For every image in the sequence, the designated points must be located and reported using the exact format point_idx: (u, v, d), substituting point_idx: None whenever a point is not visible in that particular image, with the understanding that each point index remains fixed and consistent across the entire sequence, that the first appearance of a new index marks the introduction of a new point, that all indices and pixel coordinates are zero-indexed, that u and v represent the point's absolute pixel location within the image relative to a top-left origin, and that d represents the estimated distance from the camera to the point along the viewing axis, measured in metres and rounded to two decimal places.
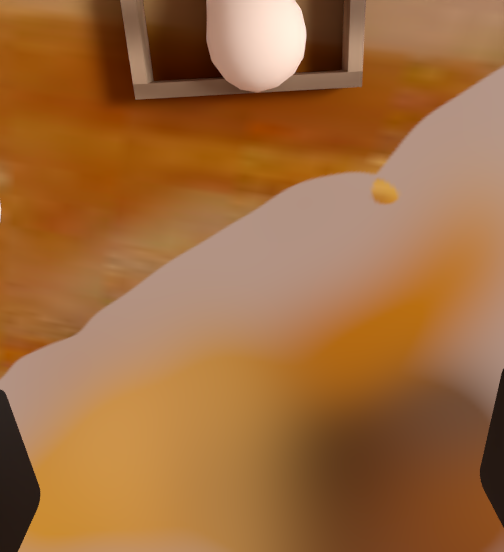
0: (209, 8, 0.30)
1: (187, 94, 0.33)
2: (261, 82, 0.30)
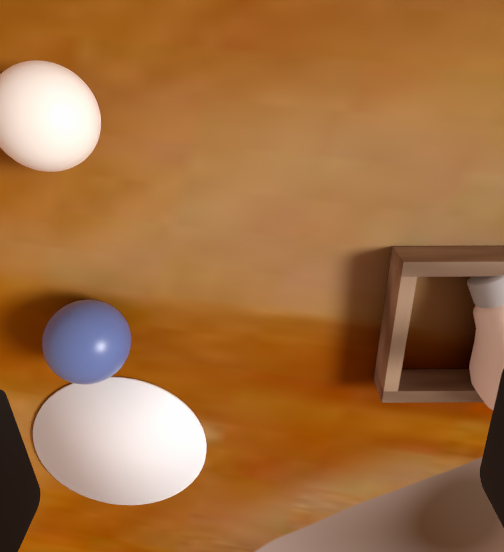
0: (489, 353, 0.30)
1: (434, 400, 0.34)
2: None
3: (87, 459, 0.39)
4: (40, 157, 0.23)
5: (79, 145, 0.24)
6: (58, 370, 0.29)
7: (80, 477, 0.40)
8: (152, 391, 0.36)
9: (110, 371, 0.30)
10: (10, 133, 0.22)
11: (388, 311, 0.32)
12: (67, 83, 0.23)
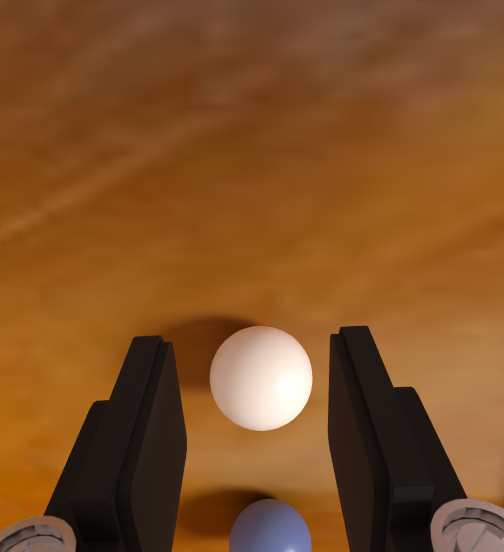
0: None
1: None
2: None
3: None
4: (268, 428, 0.24)
5: (301, 410, 0.25)
6: None
7: None
8: None
9: None
10: (247, 417, 0.23)
11: None
12: (295, 361, 0.24)
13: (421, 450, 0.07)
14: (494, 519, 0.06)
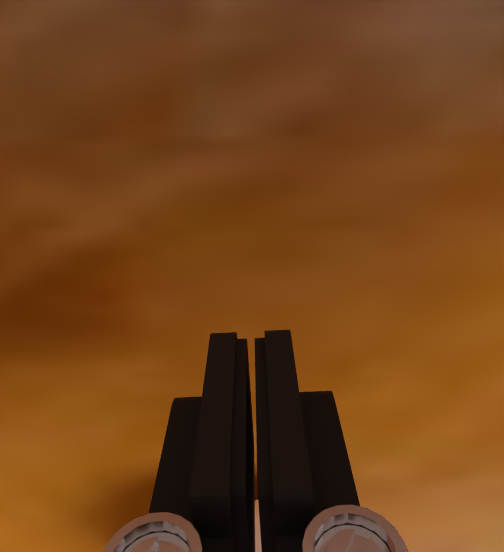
0: None
1: None
2: None
3: None
4: None
5: None
6: None
7: None
8: None
9: None
10: None
11: None
12: None
13: (325, 455, 0.07)
14: (361, 521, 0.06)
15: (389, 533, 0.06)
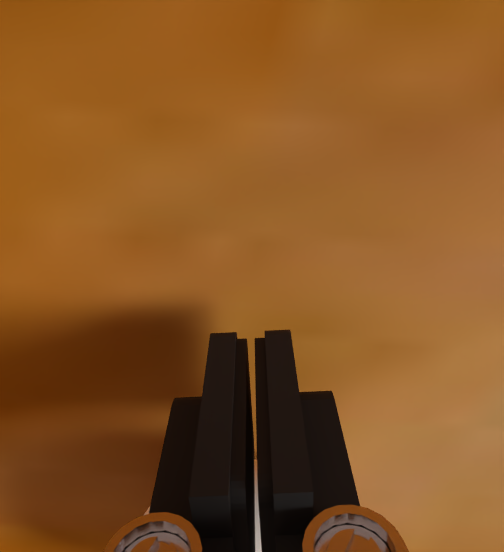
0: None
1: None
2: None
3: None
4: None
5: None
6: None
7: None
8: None
9: None
10: None
11: None
12: None
13: (324, 455, 0.07)
14: (361, 521, 0.06)
15: (389, 533, 0.06)
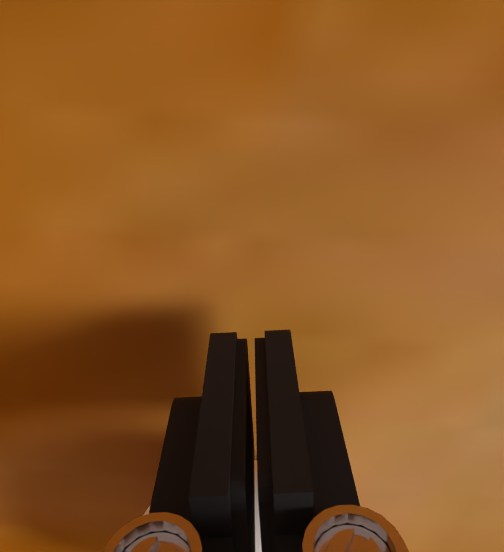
0: None
1: None
2: None
3: None
4: None
5: None
6: None
7: None
8: None
9: None
10: None
11: None
12: None
13: (325, 455, 0.07)
14: (361, 521, 0.06)
15: (389, 534, 0.06)
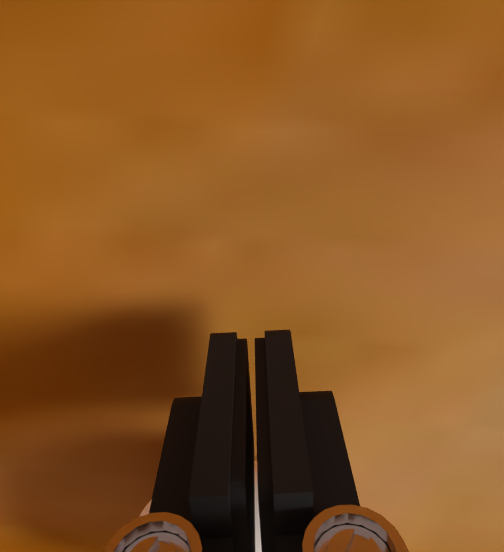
0: None
1: None
2: None
3: None
4: None
5: None
6: None
7: None
8: None
9: None
10: None
11: None
12: None
13: (324, 455, 0.07)
14: (361, 521, 0.06)
15: (389, 534, 0.06)
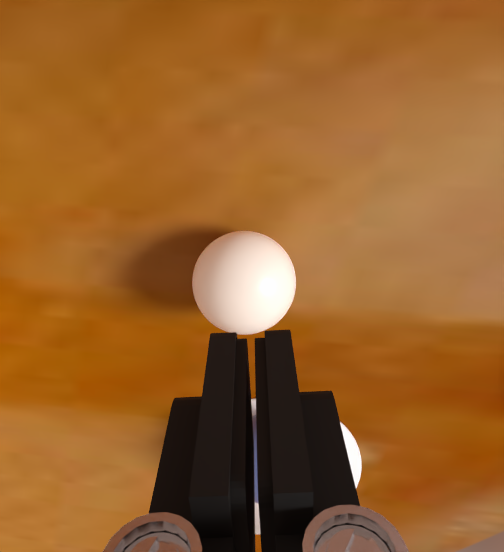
0: None
1: None
2: None
3: None
4: None
5: None
6: None
7: None
8: None
9: None
10: None
11: None
12: None
13: (324, 455, 0.07)
14: (361, 521, 0.06)
15: (389, 534, 0.06)
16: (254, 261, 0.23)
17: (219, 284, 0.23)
